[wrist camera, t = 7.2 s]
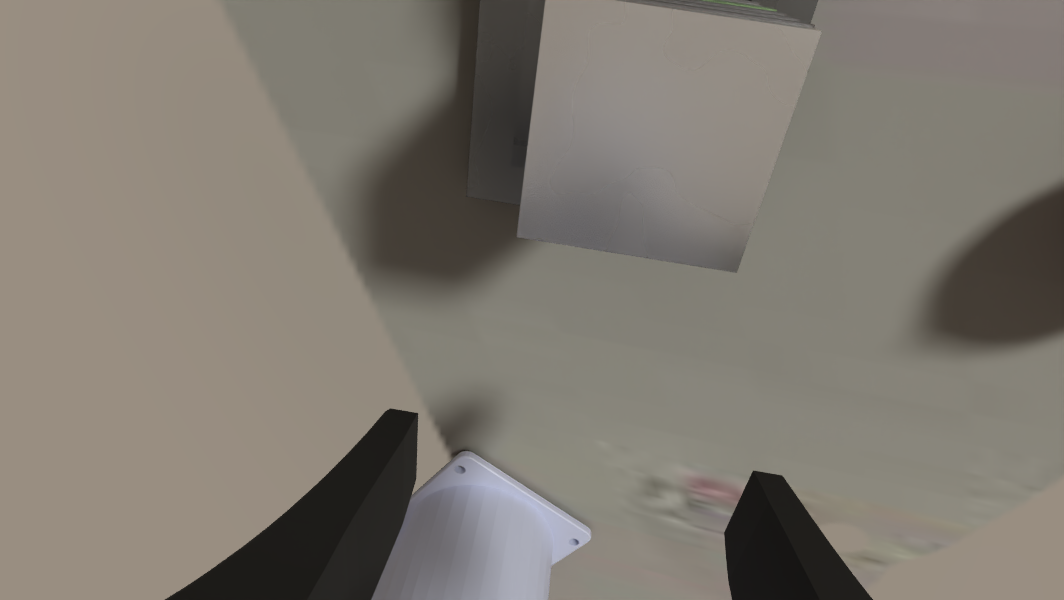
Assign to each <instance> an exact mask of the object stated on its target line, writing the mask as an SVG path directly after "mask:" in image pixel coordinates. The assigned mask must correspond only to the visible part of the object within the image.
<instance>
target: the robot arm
mask: <svg viewBox="0 0 1064 600" xmlns="http://www.w3.org/2000/svg"><path fill="white" fill-rule="evenodd" d="M417 431H418V413H413V412H408V411H402V410H396V409H389V410H387V411H386V412H385V413H384V414H383V415H382V416H381V417H380V418H379V420H378V421H377V422H376V423H375V424H374V426H373V427H372V428H371V429H370V430H369V431H368V432H367V434H366V435H365V436H364V437H363V438H362V439H361V440H360V441H359V442H358V443H357V444H356V445H355V446H354V447H353V449H352V450H351V451H350V452H349V453H348V454H347V455H346V456H345V457H344V458H343V459H342V460H341V461H340V462H339V463H338V464H337V465H336V466H335V467H334V468H333V469H332V470H331V471H330V472H329V473H328V474H327V475H326V476H325V477H324V478H323V479H322V480H321V481H320V482H319V483H318V484H317V485H315V486H314V487H313V488H312V489H311V490H310V491H309V492H308V493H307V494H306V495H304V496H303V497H302V498H301V499H300V500H299V501H298V502H297V503H295V504H294V505H293V506H292V507H291V508H290V509H289V510H288V511H287V512H285V513H284V514H283V515H282V516H281V517H280V518H278V519H277V520H276V521H275V522H273V523H272V524H271V525H270V526H269V527H267V528H266V529H265V530H264V531H262V532H261V533H260V534H259V535H257V536H256V537H255V538H253V539H252V540H251V541H250V542H248V543H247V544H246V545H244V546H243V547H242V548H241V549H239V550H238V551H236V552H235V553H234V554H232V555H231V556H229V557H228V558H227V559H226V560H224V561H222V562H221V563H220V564H218V565H217V566H216V567H214V568H213V569H211V570H210V571H208V572H207V573H205V574H204V575H203V576H201V577H200V578H198V579H197V580H195V581H194V582H192V583H191V584H189V585H188V586H186V587H185V588H183V589H181V590H180V591H178V592H176V593H175V594H173V595H172V596H170V597H169V598H167V599H165V600H548V596H549V585H550V574H551V566H552V565H553V564H555V563H556V562H558V561H560V560H561V559H563V558H564V557H566V556H567V555H569V554H570V553H572V552H573V551H575V550H576V549H578V548H579V547H581V546H583V545H584V544H586V543H587V542H589V540H590V539H591V530H590V529H589V528H588V527H587V526H585V525H584V524H582V523H581V522H579V521H578V520H576V519H574V518H573V517H571V516H570V515H568V514H567V513H565V512H564V511H562V510H561V509H559V508H557V507H556V506H554V505H553V504H551V503H550V502H548V501H547V500H545V499H544V498H542V497H541V496H539V495H537V494H536V493H534V492H533V491H531V490H530V489H528V488H527V487H525V486H524V485H522V484H521V483H519V482H517V481H516V480H514V479H513V478H511V477H510V476H508V475H507V474H505V473H504V472H502V471H501V470H499V469H497V468H496V467H494V466H493V465H491V464H490V463H488V462H487V461H485V460H484V459H482V458H481V457H479V456H477V455H476V454H474V453H472V452H470V451H462V452H460V453H459V454H458V455H457V456H455V457H454V458H453V459H452V460H451V461H450V462H449V463H448V464H446V465H445V466H444V467H443V468H442V469H441V470H440V471H439V472H437V473H436V474H435V475H434V476H433V477H432V478H431V479H430V480H429V481H427V482H426V483H425V484H424V485H423V486H422V487H421V488H419V489H418V490H417V491H416V492H415V493H414V494H413V495H412V491H413V488H414V484H415V481H416V465H417ZM459 466H462V467H459ZM411 495H412V496H411ZM724 534H725V548H726V561H727V571H728V581H729V586H730V591H731V596H732V600H873V599H872V598H871V597H870V596H869V594H868V593H867V592H866V590H865V589H864V588H863V587H862V585H861V584H860V583H859V581H858V580H857V579H856V578H855V576H854V575H853V574H852V572H851V571H850V570H849V568H848V567H847V566H846V564H845V563H844V562H843V560H842V559H841V558H840V556H839V555H838V554H837V552H836V551H835V550H834V548H833V547H832V546H831V544H830V543H829V541H828V540H827V539H826V537H825V536H824V534H823V533H822V532H821V530H820V529H819V527H818V526H817V524H816V523H815V522H814V520H813V519H812V517H811V516H810V515H809V513H808V512H807V510H806V509H805V507H804V506H803V505H802V503H801V502H800V500H799V499H798V497H797V496H796V494H795V493H794V492H793V490H792V489H791V487H790V486H789V484H788V483H787V482H786V480H785V479H784V477H783V476H782V475H776V474H770V473H764V472H758V471H753V472H752V474H751V476H750V478H749V481H748V483H747V485H746V487H745V489H744V491H743V494H742V496H741V498H740V500H739V502H738V504H737V506H736V509H735V511H734V513H733V515H732V517H731V519H730V521H729V524H728V526H727V528H726V530H725V532H724Z"/></svg>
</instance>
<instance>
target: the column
mask: <svg viewBox="0 0 1064 600" xmlns="http://www.w3.org/2000/svg"><path fill="white" fill-rule="evenodd" d="M776 11H777V10H776V9H774V8H769V7H763V6H761V5H759V2H755V1H749V0H545V7H544V16H543V24H542V32H541V40H540V48H539V57H538V65H537V73H536V81H535V89H534V98H533V106H532V114H531V122H530V130H529V139H528V147H527V155H526V163H525V171H524V180H523V188H522V196H521V204H520V213H519V221H518V229H517V237H519V238H525V239H531V240H538V241H544V242H550V243H556V244H562V245H568V246H575V247H581V248H587V249H593V250H599V251H606V252H612V253H618V254H624V255H630V256H637V257H643V258H649V259H655V260H661V261H667V262H674V263H680V264H686V265H692V266H698V267H705V268H711V269H717V270H723V271H729V272H735V273H737V270H738V268H739V265H740V262H741V259H742V256H743V253H744V251H745V248H746V245H747V242H748V239H749V236H750V234H751V231H752V228H753V225H754V222H755V219H756V217H757V214H758V211H759V208H760V205H761V202H762V200H763V197H764V194H765V191H766V188H767V185H768V183H769V180H770V177H771V174H772V171H773V168H774V166H775V163H776V160H777V157H778V154H779V152H780V149H781V146H782V143H783V140H784V137H785V135H786V132H787V129H788V126H789V123H790V120H791V118H792V115H793V112H794V109H795V106H796V103H797V101H798V98H799V95H800V92H801V89H802V86H803V84H804V81H805V78H806V75H807V72H808V69H809V67H810V64H811V61H812V58H813V55H814V52H815V50H816V47H817V44H818V41H819V38H820V36H821V33H822V31H820V30H818V29H816V28H814V26H815V25H813V24H811V23H805V22H799V21H800V19H798V18H795V17H789V16H787V14H786V13H783V12H776Z"/></svg>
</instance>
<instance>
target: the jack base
mask: <svg viewBox="0 0 1064 600" xmlns="http://www.w3.org/2000/svg"><path fill="white" fill-rule="evenodd" d="M749 1H755V2H759V5H761V6H763V7H769V8H774V9H776V10H777V11H776V12H783V13H786V14H787V16H789V17H795V18H798V19H800V21H799V22H805V23H811V20H812V17H813V14H814V11H815V8H816V5H817V2H818V0H749ZM544 7H545V0H480V7H479V22H478V36H477V51H476V65H475V80H474V94H473V109H472V123H471V137H470V152H469V166H468V181H467V195H466V197H472V198H478V199H485V200H491V201H497V202H503V203H510V204H516V205H520V204H521V196H522V188H523V180H524V171H525V163H526V155H527V147H528V139H529V130H530V122H531V114H532V106H533V98H534V89H535V81H536V73H537V65H538V57H539V48H540V40H541V32H542V24H543V16H544Z"/></svg>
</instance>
